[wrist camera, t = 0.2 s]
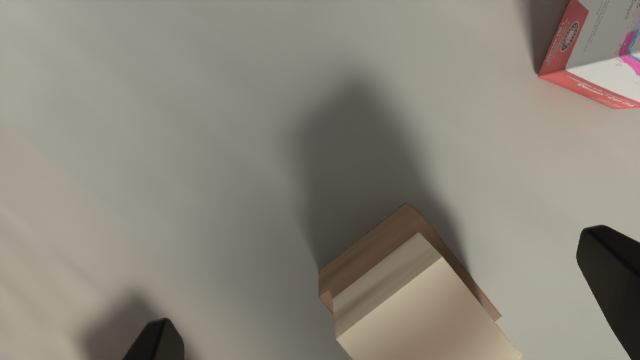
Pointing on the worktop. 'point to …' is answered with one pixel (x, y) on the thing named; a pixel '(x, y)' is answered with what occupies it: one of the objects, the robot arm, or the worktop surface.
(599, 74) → the ink cartridge box
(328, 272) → the tower base
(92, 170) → the worktop surface
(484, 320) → the tower middle
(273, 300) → the worktop surface
